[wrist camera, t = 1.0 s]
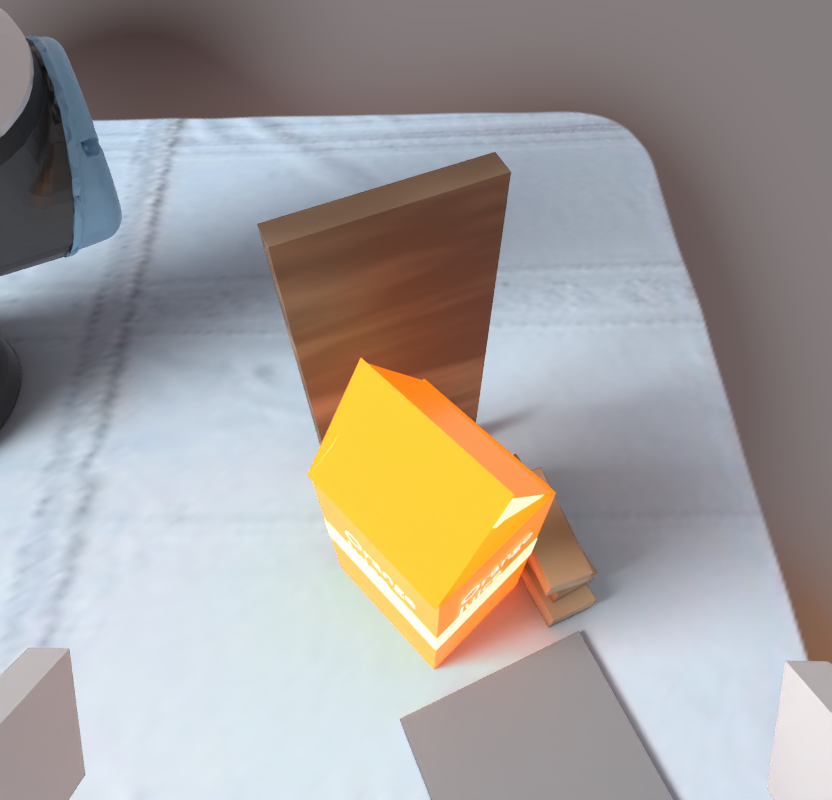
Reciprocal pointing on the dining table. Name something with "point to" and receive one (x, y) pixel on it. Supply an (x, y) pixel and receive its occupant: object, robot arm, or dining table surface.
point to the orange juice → (424, 507)
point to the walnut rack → (412, 314)
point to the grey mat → (534, 735)
